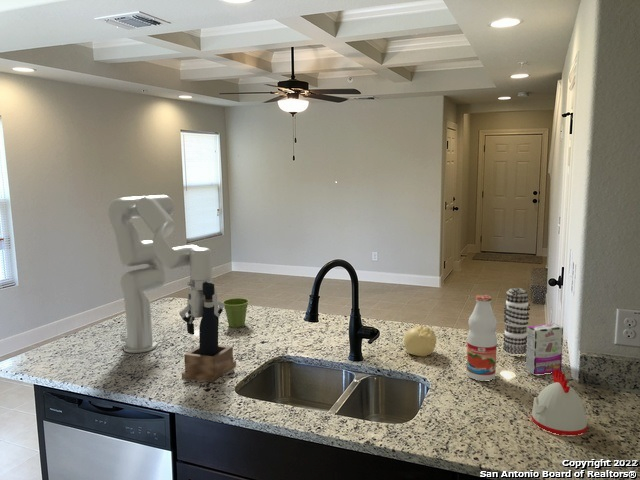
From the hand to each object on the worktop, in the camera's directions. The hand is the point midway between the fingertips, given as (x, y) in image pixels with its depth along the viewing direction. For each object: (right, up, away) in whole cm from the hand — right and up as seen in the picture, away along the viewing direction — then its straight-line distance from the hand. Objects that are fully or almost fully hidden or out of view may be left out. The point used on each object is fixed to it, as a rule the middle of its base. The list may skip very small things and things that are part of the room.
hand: (203, 330), depth 180 cm
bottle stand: (+2, -14, 0) cm, 14 cm away
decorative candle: (+115, -11, +14) cm, 117 cm away
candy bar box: (+118, -14, -4) cm, 119 cm away
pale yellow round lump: (+79, -12, +15) cm, 82 cm away
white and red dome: (+107, -19, -39) cm, 116 cm away
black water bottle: (+2, -13, 0) cm, 13 cm away
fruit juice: (+96, -15, -7) cm, 97 cm away
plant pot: (+3, -7, +51) cm, 52 cm away
